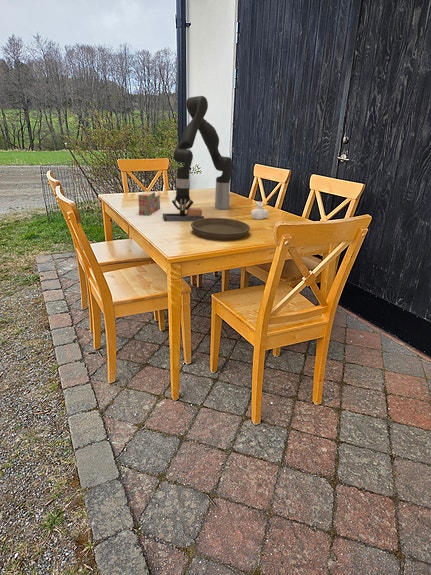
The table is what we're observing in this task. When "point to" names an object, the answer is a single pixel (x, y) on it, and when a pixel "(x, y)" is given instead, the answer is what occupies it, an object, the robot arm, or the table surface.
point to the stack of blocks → (148, 203)
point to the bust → (259, 211)
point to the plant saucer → (220, 228)
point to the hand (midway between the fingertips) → (182, 216)
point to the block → (194, 212)
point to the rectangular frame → (180, 217)
